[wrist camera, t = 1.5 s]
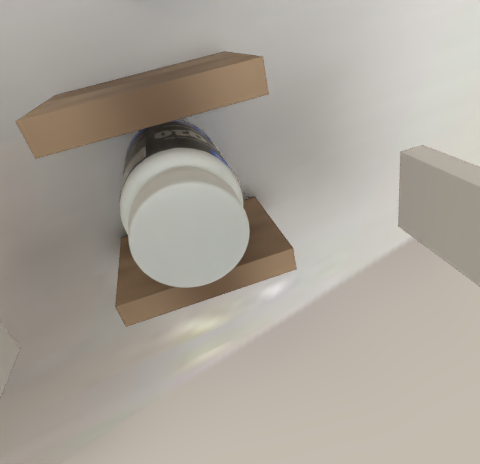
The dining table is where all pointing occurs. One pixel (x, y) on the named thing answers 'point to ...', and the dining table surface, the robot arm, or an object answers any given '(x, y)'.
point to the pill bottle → (181, 206)
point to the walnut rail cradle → (147, 115)
